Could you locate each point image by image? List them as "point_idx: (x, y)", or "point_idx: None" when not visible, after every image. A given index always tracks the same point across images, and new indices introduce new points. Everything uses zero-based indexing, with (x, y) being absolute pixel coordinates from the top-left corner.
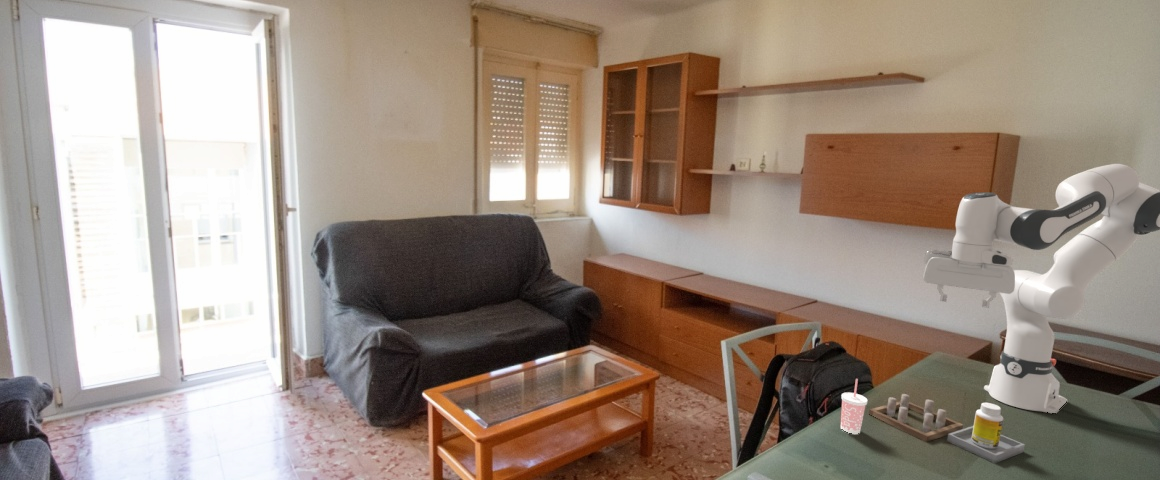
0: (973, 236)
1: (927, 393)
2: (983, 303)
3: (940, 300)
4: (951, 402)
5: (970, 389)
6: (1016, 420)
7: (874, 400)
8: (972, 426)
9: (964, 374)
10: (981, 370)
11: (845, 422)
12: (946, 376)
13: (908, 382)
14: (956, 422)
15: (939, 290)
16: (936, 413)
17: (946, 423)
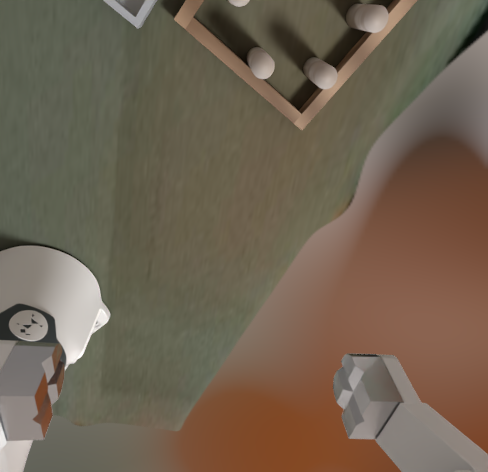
0: None
1: (229, 230)
2: (37, 371)
3: (391, 355)
4: (182, 204)
5: (136, 298)
6: (45, 171)
7: (370, 115)
8: (151, 1)
9: (143, 364)
10: (111, 396)
11: None
12: (178, 339)
13: (261, 271)
14: (190, 26)
15: (465, 446)
16: (235, 71)
17: (213, 34)
